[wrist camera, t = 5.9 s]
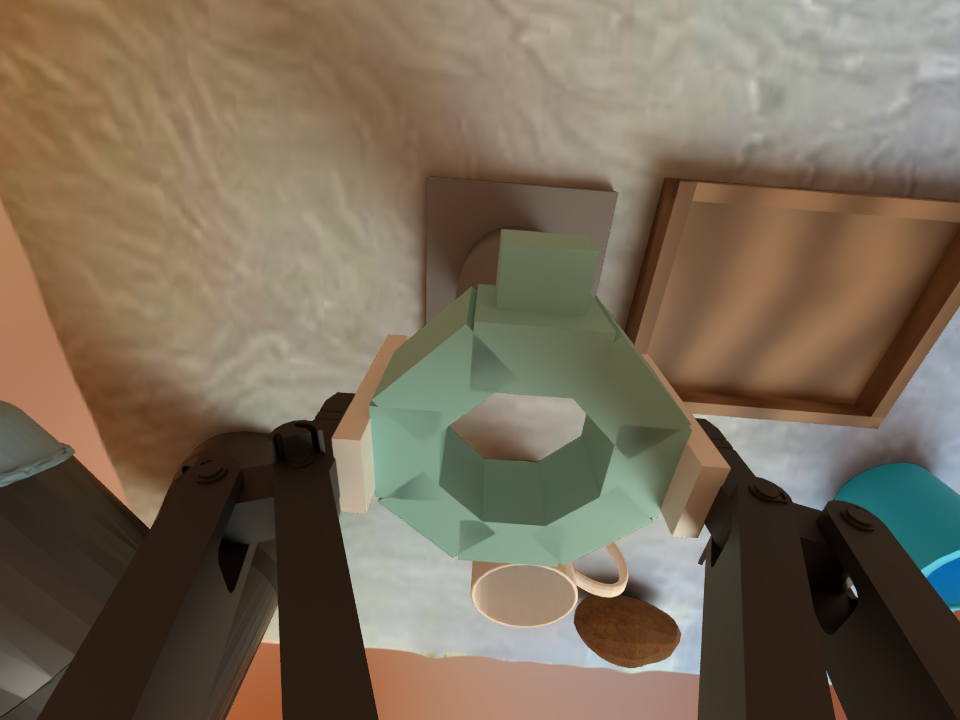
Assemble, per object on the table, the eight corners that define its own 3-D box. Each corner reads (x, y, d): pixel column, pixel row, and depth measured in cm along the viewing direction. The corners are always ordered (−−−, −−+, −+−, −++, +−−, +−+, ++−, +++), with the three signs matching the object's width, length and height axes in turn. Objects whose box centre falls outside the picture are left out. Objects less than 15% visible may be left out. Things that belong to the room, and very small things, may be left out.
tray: (609, 389, 34) (617, 407, 31) (664, 177, 26) (680, 181, 24) (852, 409, 33) (877, 428, 31) (980, 202, 26) (1024, 208, 24)
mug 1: (476, 516, 41) (469, 625, 32) (478, 456, 38) (471, 560, 28) (597, 522, 41) (625, 634, 32) (611, 463, 37) (648, 569, 28)
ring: (397, 489, 17) (379, 554, 14) (387, 220, 12) (357, 242, 9) (613, 505, 17) (635, 572, 14) (695, 244, 12) (754, 273, 9)
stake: (427, 342, 32) (395, 435, 22) (429, 176, 26) (386, 198, 16) (579, 354, 32) (616, 453, 22) (614, 190, 26) (686, 222, 16)
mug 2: (872, 453, 36) (966, 533, 28) (954, 473, 36) (1066, 555, 29) (790, 541, 41) (851, 626, 34) (862, 557, 42) (937, 643, 35)
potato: (656, 620, 49) (679, 690, 42) (560, 609, 48) (569, 677, 42) (676, 586, 45) (704, 656, 39) (574, 574, 45) (586, 642, 39)
